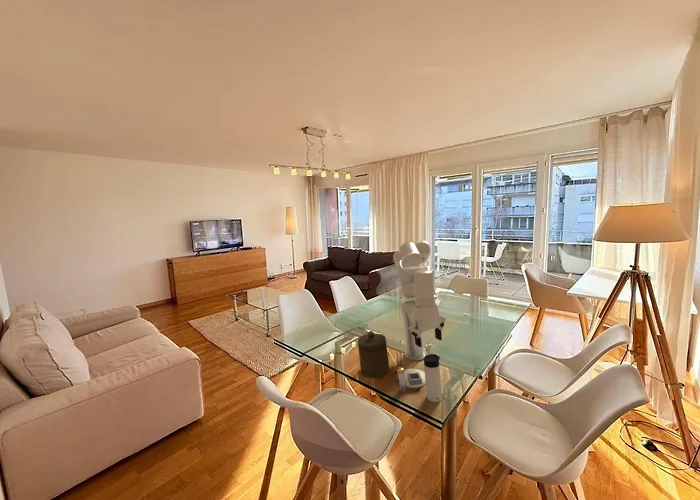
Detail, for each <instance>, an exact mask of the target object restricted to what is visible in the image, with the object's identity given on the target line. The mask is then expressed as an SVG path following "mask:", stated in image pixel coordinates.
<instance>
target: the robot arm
mask: <svg viewBox="0 0 700 500" xmlns="http://www.w3.org/2000/svg"><path fill="white" fill-rule="evenodd" d="M430 255H431V246H430V244H429V242H427V241H426V240H424V239H423V240H414V241H407V242H403V243H402V244H401V246H400V248H399V250H397V251H394V253H393V255H392V256H393V257H392V258H393V261H394V262H393V263H394V265H395V267H396V273H397V277H398V280H399V282H400V287H401V288H400V289H401V293H402V297H403V298H404V299H409V300H405V301H403V302H402V303H401V305H400V311H401V315H402V321H403V327H404V338H405V339H404V340H405V348H406V349H405V351H407V352H405V351H404V352H405V353H404V352H403V355H405V356H404V357H405V358H406V359H407V358H408V360H409V359H410V360H409V361H422V360H424V357H425V356H426V355H428V352H427V350H425V348H424V337H423V333H425V332H428V331H431V330H434V337H435V339H437V340H438V341H440V342H441V341H442V339H443V338H442V336H443V335H442V331H443V328H444V326H445V323H446V319H447V318H446V317H444V316H441V315H440V312H439V308H438V304H437V302H436V300H437V299H438V297H437V295H436V293H435V284H434V283H435V281H434V277H435V273H434V269H433V268H432V267H431V266H430V265H423V264H425V263H427V262H428V259H429V257H430Z"/></svg>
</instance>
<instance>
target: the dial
mask: <svg viewBox="0 0 700 500" xmlns="http://www.w3.org/2000/svg"><path fill="white" fill-rule="evenodd" d="M404 374H405V380H406V387H407V388H409V389H410V388H411V389H416V388H421V387H423V386H426V381H425V371H423V369H422V370H421V369H419V368H407V369H404Z"/></svg>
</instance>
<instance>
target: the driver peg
mask: <svg viewBox="0 0 700 500" xmlns="http://www.w3.org/2000/svg"><path fill="white" fill-rule="evenodd" d="M404 370H405V368H404V367H403V366H398V367H397V368H396V372H397V378H398V381H399V382H398V385H399V390H400V392H401V393H406V392H407V391H408V387H406V380H405V374H404Z"/></svg>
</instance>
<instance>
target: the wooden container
mask: <svg viewBox="0 0 700 500" xmlns="http://www.w3.org/2000/svg"><path fill="white" fill-rule="evenodd" d="M357 347H358V348H357V349H358V356H359V357H358V358H359V366H360V372H361V374H362V375H363V376H364V377H365V378H368V379H369V378H370V379H379V378H383V377H385V376H386V375H388V374H389V372H390V361H389V355H388V354H389V353H388V347H387V338H386V336H385V335H384V334H381V333H375V332H373V331H369V332H367V333H365V334H363V335H361V336H359V338H358V339H357Z"/></svg>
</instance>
